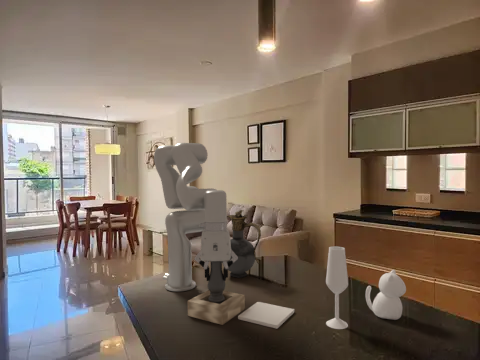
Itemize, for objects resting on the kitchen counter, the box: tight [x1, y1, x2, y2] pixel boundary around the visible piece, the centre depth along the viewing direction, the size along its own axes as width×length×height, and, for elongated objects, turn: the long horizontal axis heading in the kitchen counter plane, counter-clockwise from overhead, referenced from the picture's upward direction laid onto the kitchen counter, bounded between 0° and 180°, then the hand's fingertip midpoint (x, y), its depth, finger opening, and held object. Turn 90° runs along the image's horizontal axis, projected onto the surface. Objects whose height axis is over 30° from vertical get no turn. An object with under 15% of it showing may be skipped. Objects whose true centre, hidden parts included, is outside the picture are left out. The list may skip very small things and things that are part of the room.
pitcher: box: [222, 209, 262, 279], centre depth 159 cm, size 11×19×30 cm, turn 63°
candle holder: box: [207, 243, 226, 304], centre depth 119 cm, size 6×6×25 cm
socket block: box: [187, 289, 246, 326], centre depth 119 cm, size 14×14×5 cm
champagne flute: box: [325, 245, 349, 330], centre depth 109 cm, size 7×7×24 cm
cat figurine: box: [364, 269, 407, 321], centre depth 115 cm, size 9×12×15 cm
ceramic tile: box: [237, 301, 295, 329], centre depth 116 cm, size 14×14×1 cm
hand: (216, 279), depth 119 cm, fingers closed on candle holder, 5 cm apart
